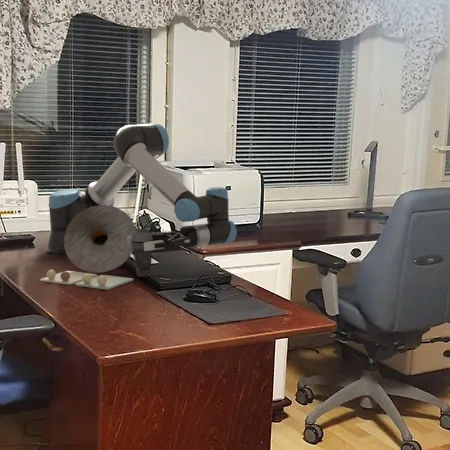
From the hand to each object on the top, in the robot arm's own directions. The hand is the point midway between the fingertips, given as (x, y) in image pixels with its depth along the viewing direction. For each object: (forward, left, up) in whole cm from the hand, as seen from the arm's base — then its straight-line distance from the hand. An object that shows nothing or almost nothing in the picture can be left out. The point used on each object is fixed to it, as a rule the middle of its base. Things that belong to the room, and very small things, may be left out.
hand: (135, 243), depth 242 cm
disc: (-20, +7, -11) cm, 24 cm away
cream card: (-19, -12, -11) cm, 25 cm away
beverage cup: (+1, +2, -11) cm, 11 cm away
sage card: (-4, -12, -11) cm, 17 cm away
